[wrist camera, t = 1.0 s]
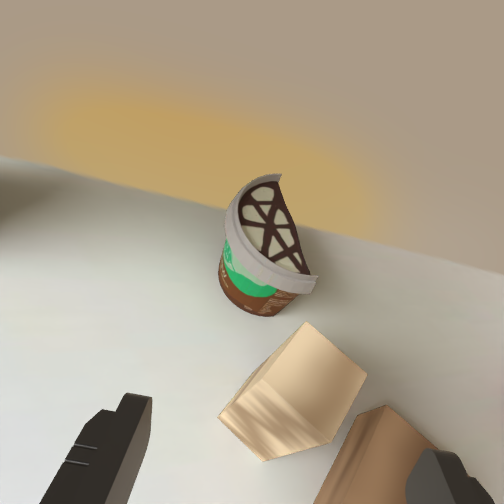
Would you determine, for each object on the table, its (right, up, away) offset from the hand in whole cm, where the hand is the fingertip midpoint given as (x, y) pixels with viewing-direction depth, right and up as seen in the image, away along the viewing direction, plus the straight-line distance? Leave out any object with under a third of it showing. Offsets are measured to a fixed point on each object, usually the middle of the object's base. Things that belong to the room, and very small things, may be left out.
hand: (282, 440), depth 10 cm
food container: (-3, +3, +28) cm, 28 cm away
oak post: (0, -9, +20) cm, 22 cm away
